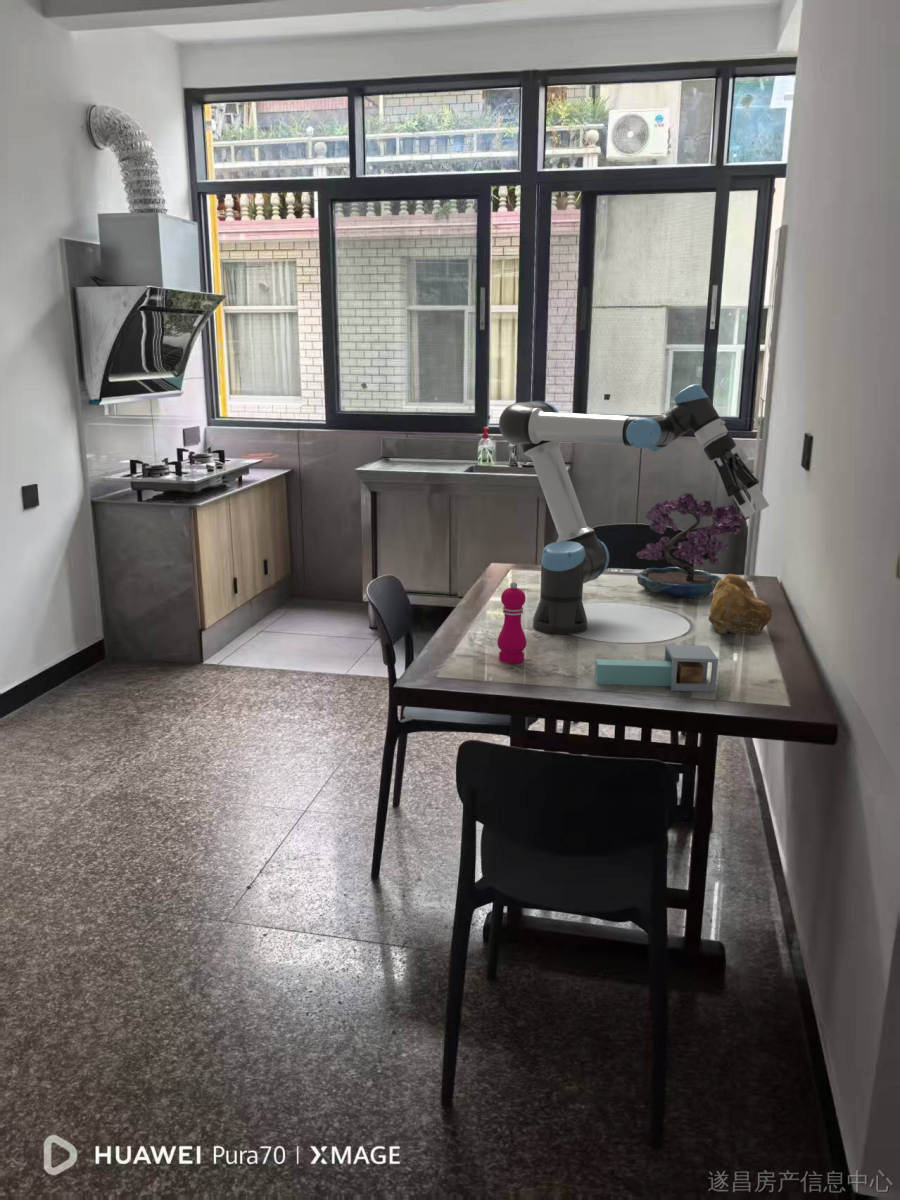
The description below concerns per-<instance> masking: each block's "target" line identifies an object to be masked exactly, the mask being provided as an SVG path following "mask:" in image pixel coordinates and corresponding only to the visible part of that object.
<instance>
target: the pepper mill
mask: <svg viewBox="0 0 900 1200" xmlns="http://www.w3.org/2000/svg"><path fill="white" fill-rule="evenodd" d="M500 600H501V603H502V604H503V607H502V613H503V614H504V615H503V616H504V620H503V626H502V628H501V630H500V632H499V634H498V638H497V643H496V645H497V647H498V649H500V651H499V652H498V659H499V662H502V663H505V664H520V663H522V662H524V660H525V652H523V651H524V650H525V649H526V647H527V638H526V635H525V632H524V630H523V627H522V620H521V619H522V615H523V614H524V612H523V611H524V607H523V606H524V605H525V603H526V595H525V592H524V591H523V589H521V588H518V583H517V582H516V581H512V582H510V587H508V588H505V589H504V590H503V591H502V593H501V597H500Z"/></svg>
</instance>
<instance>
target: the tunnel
mask: <svg viewBox="0 0 900 1200" xmlns="http://www.w3.org/2000/svg"><path fill="white" fill-rule="evenodd" d="M664 647H665V648H664V660H663V661H672V670H671V683H670V686H669V689H670V691H671V692H673V691H675V692H676V691H678V692H679V691H680V692H709V693H713V692H714V693H715V692H716V690H717V689H716V688H717V686H716V685H717V678H718V677H717V676H718V665H719V658H718V657H717V656H716V654H715V653H714V652H713V650H712V648H711V647H710V646H709V645H699V644H697V645H695V644H694V645H691V644H688V645H687V644H665V646H664ZM678 661H680V662H700V663H701V665H702V666H703V679H708V665H709V663H711V672H710V673H711V675H710V683H702V684H696V683H677V681H676V675H677V663H678Z"/></svg>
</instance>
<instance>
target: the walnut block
mask: <svg viewBox="0 0 900 1200" xmlns="http://www.w3.org/2000/svg"><path fill="white" fill-rule="evenodd" d="M703 680H704V678H703V666H702V665H701V663H700V662H680V661H678V663H677V675H676V683H696V684H703Z"/></svg>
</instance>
